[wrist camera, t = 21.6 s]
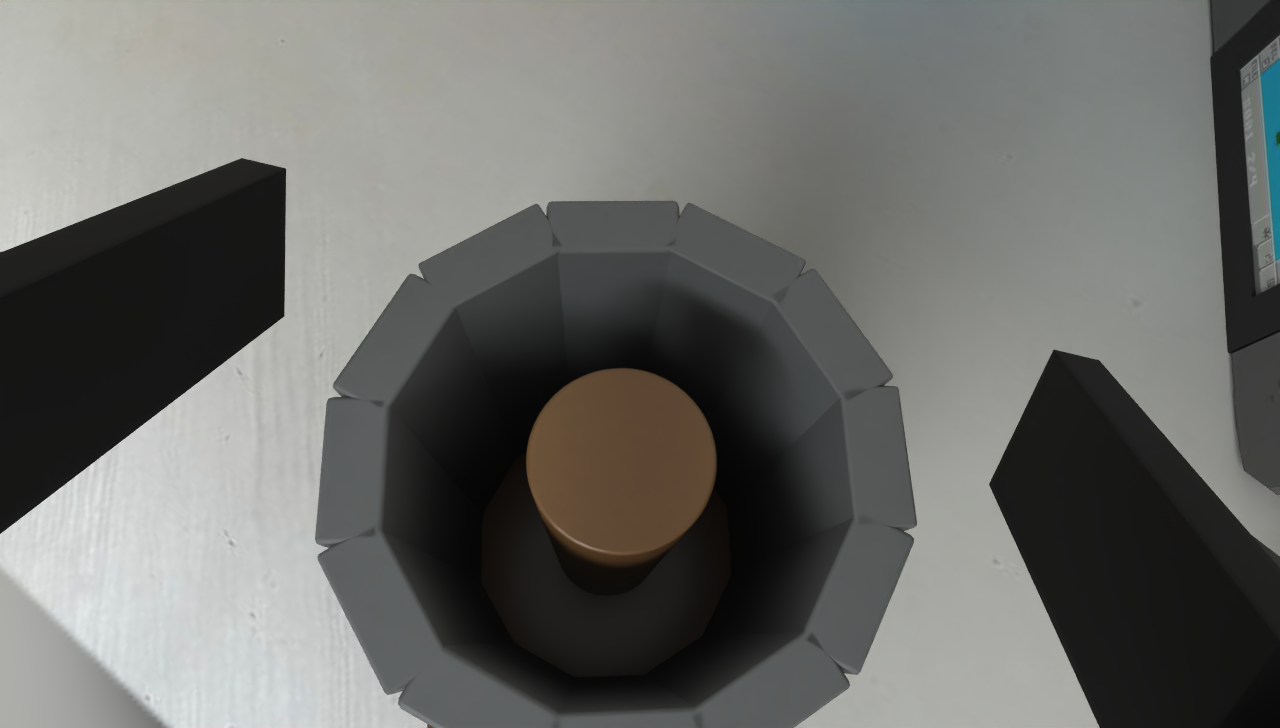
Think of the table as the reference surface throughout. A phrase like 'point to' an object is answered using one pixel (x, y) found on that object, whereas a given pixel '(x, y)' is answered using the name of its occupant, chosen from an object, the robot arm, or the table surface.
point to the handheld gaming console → (1250, 218)
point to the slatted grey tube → (499, 432)
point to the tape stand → (609, 528)
